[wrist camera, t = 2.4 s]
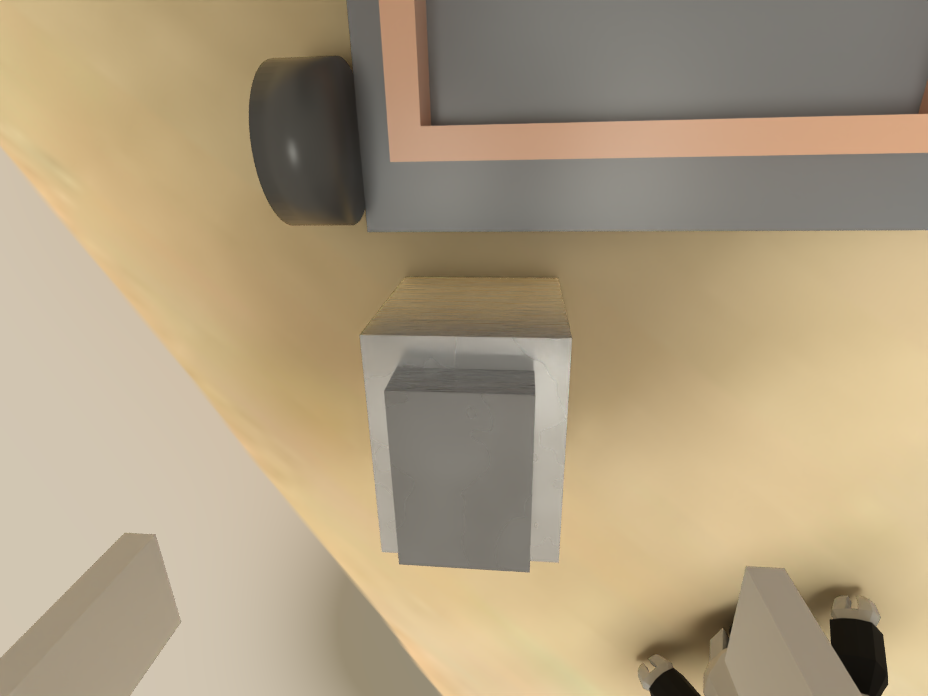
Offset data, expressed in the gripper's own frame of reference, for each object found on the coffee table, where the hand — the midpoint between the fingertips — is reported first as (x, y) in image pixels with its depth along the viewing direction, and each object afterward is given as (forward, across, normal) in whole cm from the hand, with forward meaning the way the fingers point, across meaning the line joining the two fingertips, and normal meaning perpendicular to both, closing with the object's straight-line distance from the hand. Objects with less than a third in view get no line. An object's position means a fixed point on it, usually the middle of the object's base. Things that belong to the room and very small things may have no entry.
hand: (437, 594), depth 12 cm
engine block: (+12, 0, 0) cm, 12 cm away
